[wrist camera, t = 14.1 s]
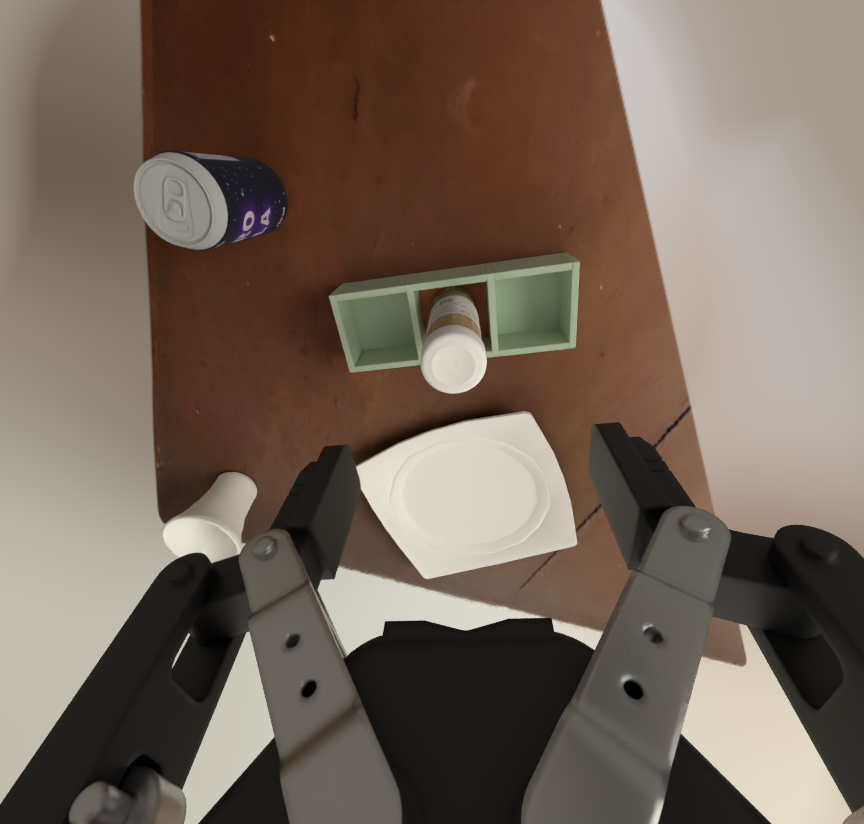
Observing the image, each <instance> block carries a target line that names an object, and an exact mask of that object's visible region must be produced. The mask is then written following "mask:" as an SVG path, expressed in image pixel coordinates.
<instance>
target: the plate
mask: <svg viewBox="0 0 864 824" xmlns="http://www.w3.org/2000/svg"><path fill="white" fill-rule="evenodd" d="M356 469H357V472H358V475H359V478H360V484H361V490H362V492H363V493H364V495H365V497H366V499H367V500H368V502H369V504H370V506H371V507H372V509H373V510H374V512H375V513H376V515H377V516H378V518H379V519H380V521H381V523H382V524H383V526H384V527H385V529H386V530H387V531H388V533H389V534H390V535H391V537H392V538H393V539H394V541H395V542H396V543H397V545H398V546H399V548H400V549H401V550H402V551H403V552H404V554H405V555H406V556H407V557H408V559H409V560H410V561H411V562H412V564H413V565H414V566H415V567H416V569H417V570H418V571H419V572H420V574H421V575H422V576H423V577H424V578H426V579H431V578H435V577H440V576H444V575H449V574H453V573H458V572H463V571H467V570H472V569H476V568H481V567H486V566H491V565H495V564H500V563H504V562H508V561H513V560H517V559H521V558H525V557H530V556H534V555H538V554H543V553H547V552H551V551H556V550H560V549H564V548H569V547H573V546H575V545H576V544H577V538H576V532H575V525H574V519H573V512H572V505H571V501H570V497H569V494H568V490H567V487H566V483H565V480H564V477H563V474H562V472H561V469H560V467H559V464H558V462H557V459H556V457H555V454H554V452H553V451H552V449H551V447H550V445H549V444H548V442H547V440H546V439H545V437H544V435H543V433H542V432H541V430H540V428H539V426H538V425H537V423H536V421H535V420H534V418H533V416H532V414H531V413H529V412H526V411H522V412H516V413H509V414H503V415H496V416H490V417H483V418H477V419H470V420H465V421H461V422H457V423H454V424H450V425H447V426H443V427H439V428H436V429H432V430H429V431H427V432H424V433H422V434H419V435H416V436H414V437H411V438H409V439H406V440H404V441H401V442H398V443H397V444H395V445H393V446H391V447H389V448H387V449H386V450H384V451H382V452H380V453H378V454H376V455H374V456H373V457H371V458H369V459H367V460H365V461H363V462H361V463H360V464H358V465H356Z"/></svg>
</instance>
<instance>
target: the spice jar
mask: <svg viewBox="0 0 864 824" xmlns="http://www.w3.org/2000/svg"><path fill="white" fill-rule="evenodd" d="M420 365H421V370H422V374H423V376H424V378H425V379H426V381H427V382H428V383H429V384H430V385H431V386H432V387H434V388H435V389H437V390H439V391H442V392H445V393H452V394H454V393H461V392H465V391H468V390H470V389H471V388H473V387H474V386H476V385H477V384H478V383H479V382H480V380H481V379H482V377H483V375H484V373H485V370H486V365H487V359H486V351H485V347H484V344H483V342H482V340H481V331H480V325H479V318H478V313H477V303H476V300H475V298H474V296H473V295H472V294H471V293H470V292H469V291H468V290H466V289H464V288H461V287H455V286H453V287H448V288H445V289H444V290H442V291H440V292H439V293H438V294H437V295H436V297H435V298H434V300H433V303H432V306H431V313H430V318H429V323H428V328H427V333H426V341H425V343H424V345H423V348H422V353H421V364H420Z"/></svg>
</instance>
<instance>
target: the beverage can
mask: <svg viewBox="0 0 864 824" xmlns="http://www.w3.org/2000/svg"><path fill="white" fill-rule="evenodd" d="M133 191H134V197H135V201H136V205H137V207H138V210H139V211H140V213H141V215H142V217H143V219H144V220H145V222H146V223H147V224H148V226H149V227H150V228H151V229H152V230H153V231H154V232H155V233H156V234H157V235H159V236H160V237H161V238H163V239H164V240H166V241H167V242H170V243H172V244H174V245H177V246H181V247H185V248H188V249H192V250H209V249H212V248H216V247H219V246H223V245H226V244H230V243H233V242H237V241H240V240H244V239H247V238H251V237H254V236H258V235H261V234H265V233H268V232H272V231H274V230H275V229H277V228H278V227H279V226H280V225H281V224H282V222H283V221H284V219H285V216H286V213H287V196H286V192H285V189H284V186H283V184H282V182H281V181H280V179H279V177H278V176H277V175H276V173H275V172H274V171H273V170H272V169H271V168H270V167H268V166H267V165H266V164H264V163H262V162H261V161H258V160H256V159H251V158H242V157H232V156H221V155H211V154H200V153H190V152H180V151H165V152H161V153H158V154H156V155H155V156H153V157H152V158H151V159H150V160H148V161H146V162H144V163H143V164H142V165H141V166H140V167H139V169H138V170H137V172H136V174H135V178H134V184H133Z"/></svg>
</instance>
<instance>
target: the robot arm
mask: <svg viewBox="0 0 864 824" xmlns="http://www.w3.org/2000/svg"><path fill="white" fill-rule="evenodd" d="M589 473H590V478H591V481H592V484H593V486H594V488H595V491H596V493H597V496H598V498H599V500H600V503H601V505H602V508H603V510H604V512H605V515H606V517H607V519H608V522H609V524H610V527H611V529H612V531H613V534H614V536H615V538H616V541H617V543H618V546H619V548H620V550H621V553H622V555H623V558H624V560H625V562H626V565H627V567H628V569H629V570H631V569H633V571H632V572H631V574H630V576H629V578H628V581H627V583H626V585H625V587H624V589H623V591H622V593H621V596H620V598H619V600H618V602H617V604H616V606H615V608H614V610H613V613H612V615H611V617H610V619H609V621H608V623H607V625H606V628H605V630H604V632H603V634H602V636H601V639H600V640H599V643H598V645H597V647H596V649H595V650H593V649H592V648H590V647H589V646H587V645H586V644H584V643H582V642H580V641H578V640H576V639H574V638H572V637H569V636H567V635H564V634H561V633H557V632H554V629H553V624H552V619H551V618H530V619H529V618H524V619H506V620H503V621H500V622H496V623H493V624H489V625H486V626H482V627H479V628H476V629H472V630H468V631H464V630H459V629H455V628H451V627H447V626H443V625H440V624H436V623H431V622H428V621H387V622H386V621H385V625H384V632H383V635H382V636H379V637H376V638H374V639H372V640H370V641H367V642H366V643H364V644H362V645H360V646H359V647H358V648H356V649H355V650H354V651H352V652H351V653H350V654H349V655H348V656H347V654H346V651H345V649H344V648H343V645H342V643H341V641H340V639H339V636H338V634H337V632H336V630H335V628H334V625H333V623H332V621H331V619H330V617H329V614H328V612H327V610H326V608H325V606H324V603H323V601H322V599H321V596H320V594H319V592H318V590H317V589H318V586H319V584H320V581H321V580H323V579H334V578H335V575H336V571H337V568H338V565H339V562H340V559H341V556H342V552H343V549H344V546H345V543H346V539H347V536H348V533H349V530H350V526H351V523H352V520H353V517H354V513H355V510H356V507H357V504H358V501H359V497H360V492H361V484H360V478H359V475H358V472H357V469H356V466H355V463H354V460H353V457H352V454H351V451H350V448H349V446H348V445H336V446H325V447H324V448H323V450H322V452H321V454H320V456H319V458H318V460H317V462H310V463H309V464H308V465H307V466H306V467H305V468H304V469H303V470H302V471H301V472H300V473H299V475H298V477H297V479H296V481H295V483H294V486H292V488H291V490H290V492H289V496H287V498H286V500H285V501H284V503H283V505H282V507H281V509H280V511H279V513H278V515H277V517H276V518H275V520H274V522H273V524H272V526H271V528H270V530H267V531H264V532H262V533H259V534H258V535H256V536H255V537H253V538H252V539H251V540H250V541H248V542H247V544H246V545H245V546H244V547H243V549H242V550H241V552H240V554H238V555H235V556H232V557H229V558H226V559H223V560H220V561H217V562H213V563H211V561H210V560H209V558H208V557H207V556H206V555H205V554H203V553H190V554H187V555H184V556H182V557H180V558H178V559H176V560H174V561H173V562H172V563H170V564H169V565H167V566H166V567H165V568H164V569H163V570H162V571H161V572H160V573H159V575H158V576H157V578H156V579H155V580H154V582H153V583H152V584H151V586H150V587H149V589H148V591H147V592H146V593H145V595H144V596H143V598H142V599H141V600H140V602H139V604H138V605H137V606H136V608H135V609H134V611H133V612H132V614H131V615H130V616H129V618H128V619H127V621H126V622H125V624H124V625H123V627H122V628H121V630H120V631H119V632H118V634H117V635H116V637H115V638H114V640H113V641H112V643H111V644H110V646H109V647H108V648H107V650H106V651H105V653H104V654H103V656H102V657H101V659H100V660H99V662H98V663H97V665H96V666H95V667H94V669H93V671H92V672H91V673H90V675H89V676H88V678H87V679H86V680H85V682H84V683H83V685H82V686H81V688H80V689H79V691H78V692H77V694H76V695H75V696H74V698H73V699H72V701H71V702H70V704H69V705H68V707H67V708H66V710H65V711H64V712H63V714H62V715H61V717H60V718H59V720H58V721H57V723H56V724H55V726H54V727H53V728H52V730H51V731H50V733H49V734H48V736H47V737H46V739H45V740H44V742H43V743H42V744H41V746H40V748H39V749H38V750H37V752H36V753H35V755H34V756H33V758H32V759H31V760H30V762H29V763H28V765H27V766H26V768H25V769H24V771H23V772H22V774H21V775H20V776H19V778H18V780H17V781H16V782H15V784H14V785H13V787H12V788H11V790H10V791H9V793H8V794H7V795H6V797H5V798H4V800H3V801H2V803H1V804H0V824H184V821H185V815H186V798H185V796H184V793H183V792H182V789H183V786H184V784H185V781H186V779H187V776H188V774H189V771H190V769H191V767H192V764H193V762H194V759H195V757H196V754H197V752H198V749H199V747H200V745H201V742H202V739H203V737H204V735H205V732H206V730H207V727H208V725H209V722H210V720H211V718H212V715H213V713H214V710H215V708H216V705H217V703H218V700H219V698H220V696H221V693H222V691H223V688H224V686H225V683H226V681H227V678H228V676H229V673H230V671H231V669H232V666H233V664H234V661H235V659H236V656H237V654H238V651H239V649H240V647H241V644H242V642H243V639H244V637H245V634H246V632H249V631H250V635H251V639H252V643H253V647H254V652H255V656H256V660H257V664H258V668H259V672H260V676H261V681H262V685H263V689H264V693H265V698H266V702H267V706H268V710H269V714H270V719H271V723H272V727H273V731H274V735H275V737H274V738H273V739H272V740H271V742H270V743H269V744H268V745H267V746H266V747H265V748H264V750H263V751H262V752H261V753H260V754H259V755H258V756H257V758H256V759H255V760H254V761H253V762H252V763H251V764H250V765H249V767H248V768H247V769H246V770H245V771H244V772H243V773H242V775H241V776H240V777H239V778H238V779H237V780H236V781H235V782H234V784H233V785H232V786H231V787H230V788H229V789H228V790H227V792H226V793H225V794H224V795H223V796H222V797H221V798H220V800H219V801H218V802H217V803H216V804H215V805H214V806H213V807H212V809H211V810H210V811H209V812H208V813H207V814H206V815H205V817H204V818H203V819H202V820H201V821H200V822H199V823H198V824H771V823H770V822H769V821H768V820H767V819H766V818H765V817H764V816H763V815H762V814H761V813H760V812H759V811H758V810H757V809H756V808H755V807H754V806H753V805H752V804H751V803H750V802H749V801H748V800H747V799H746V798H745V797H744V796H743V795H742V794H741V793H740V792H739V791H738V790H737V789H736V788H735V787H734V786H733V785H732V784H731V783H730V782H729V781H728V780H727V779H726V778H725V777H724V776H723V775H722V774H721V773H720V772H719V771H718V770H717V769H716V768H715V767H714V766H713V765H712V764H711V763H710V762H709V761H708V760H707V759H706V758H705V757H704V756H703V755H702V754H701V753H700V752H699V751H698V750H697V749H696V748H695V747H694V746H693V745H692V744H691V743H690V742H688V740H687V739H686V738H685V737H684V736H683V735H682V734H681V730H682V726H683V722H684V719H685V714H686V711H687V708H688V704H689V700H690V696H691V693H692V689H693V685H694V682H695V678H696V674H697V671H698V667H699V663H700V660H701V656H702V652H703V648H704V645H705V641H706V637H707V634H708V630H709V626H710V623H711V619H712V616H713V617H717V618H720V619H724V620H728V621H732V622H736V623H740V624H744V625H747V626H748V628H749V630H750V631H751V633H752V635H753V637H754V639H755V641H756V642H757V644H758V646H759V648H760V650H761V651H762V653H763V655H764V657H765V658H766V660H767V662H768V664H769V666H770V667H771V669H772V671H773V673H774V674H775V676H776V678H777V680H778V682H779V683H780V685H781V687H782V689H783V690H784V692H785V694H786V696H787V698H788V699H789V701H790V703H791V705H792V707H793V708H794V710H795V712H796V714H797V715H798V717H799V719H800V721H801V723H802V724H803V726H804V728H805V730H806V731H807V733H808V735H809V737H810V739H811V740H812V742H813V744H814V746H815V748H816V749H817V751H818V753H819V755H820V756H821V758H822V760H823V762H824V764H825V765H826V767H827V769H828V771H829V772H830V774H831V776H832V778H833V780H834V781H835V783H836V785H837V787H838V789H839V790H840V792H841V794H842V796H843V797H844V799H845V801H846V803H847V804H848V806H849V808H850V810H851V812H852V814H851V815H850V816H848V817H847V818H846V819H845V821H844V822H843V824H864V558H863V557H862V556H861V555H860V554H859V553H858V552H857V551H856V550H855V549H854V548H852V546H851V545H849V544H848V543H847V542H845V541H844V540H842V539H841V538H839V537H837V536H835V535H833V534H831V533H829V532H826V531H824V530H821V529H818V528H815V527H810V526H804V525H789V526H785V527H782V528H781V529H779V530H778V531H777V533H776V534H775V537H774V538H769V537H764V536H758V535H753V534H747V533H742V532H737V531H733V530H730V529H728V528H727V526H726V525H725V524H724V523H723V522H722V521H721V520H720V519H719V518H718V517H716V516H715V515H713V514H711V513H709V512H707V511H705V510H702V509H699V508H696V507H695V505H694V504H693V502H692V501H691V499H690V498H689V496H688V495H687V494H686V492H685V491H684V489H683V488H682V486H681V485H680V484H679V482H678V481H677V479H676V478H675V476H674V475H673V474H672V472H671V471H669V468H668V466H667V465H666V464H665V462H664V461H662V458H661V456H660V455H659V453H658V452H657V451H656V449H655V448H654V446H652V445H651V444H649V443H648V442H646V441H645V440H643V439H642V438H640V437H630V438H629V436H628V435H627V433H626V431H625V430H624V428H623V427H622V425H621V424H620V423H619V422H615V423H603V424H593V426H592V429H591V440H590V452H589ZM188 633H189V634H190V636H189V638H188V640H187V642H186V644H185V646H184V648H183V650H182V652H181V653H180V655H179V657H178V659H177V661H176V663H175V665H174V667H173V669H172V665H173V662H174V659H175V657H176V655H177V653H178V651H179V649H180V647H181V645H182V643H183V642H184V640H185V638H186V636H187V634H188Z"/></svg>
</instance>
